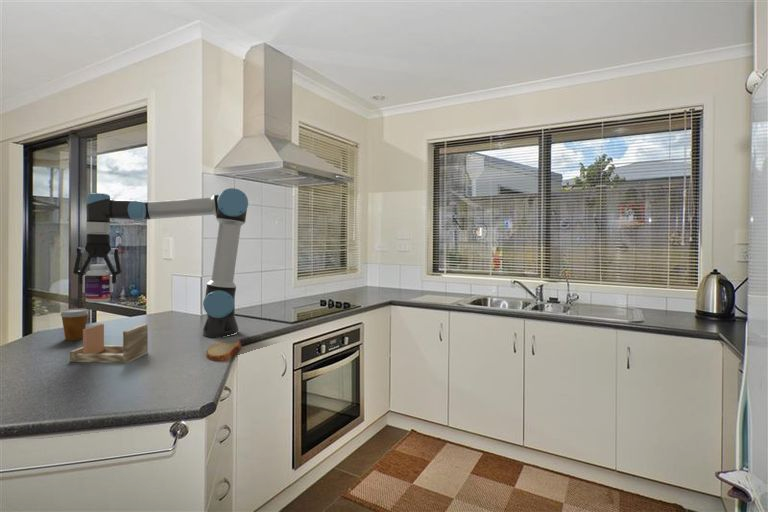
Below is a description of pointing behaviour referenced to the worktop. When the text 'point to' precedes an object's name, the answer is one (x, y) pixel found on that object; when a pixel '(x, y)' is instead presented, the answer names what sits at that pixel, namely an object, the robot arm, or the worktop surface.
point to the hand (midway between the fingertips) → (98, 291)
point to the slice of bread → (223, 351)
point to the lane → (118, 348)
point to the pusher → (93, 339)
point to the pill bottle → (98, 284)
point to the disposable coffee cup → (74, 323)
